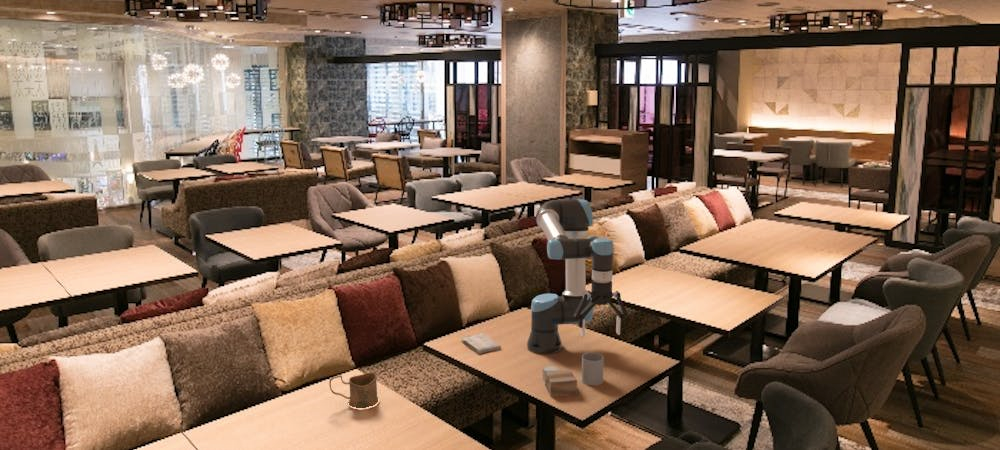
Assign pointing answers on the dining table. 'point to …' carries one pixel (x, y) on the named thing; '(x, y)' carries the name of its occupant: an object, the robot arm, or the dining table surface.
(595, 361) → the cup
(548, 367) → the grey block
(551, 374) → the walnut block
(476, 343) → the washcloth
